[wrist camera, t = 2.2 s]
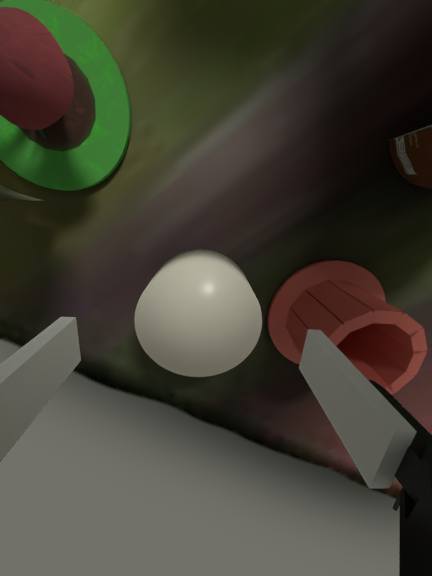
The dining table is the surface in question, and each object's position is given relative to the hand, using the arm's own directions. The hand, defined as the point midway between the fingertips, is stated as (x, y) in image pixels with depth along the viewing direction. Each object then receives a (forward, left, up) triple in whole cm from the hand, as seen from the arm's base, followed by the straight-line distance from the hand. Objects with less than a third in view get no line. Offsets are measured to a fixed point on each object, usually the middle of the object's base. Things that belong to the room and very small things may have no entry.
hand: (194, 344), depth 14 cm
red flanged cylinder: (+2, +12, -9) cm, 15 cm away
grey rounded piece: (0, 0, -9) cm, 9 cm away
